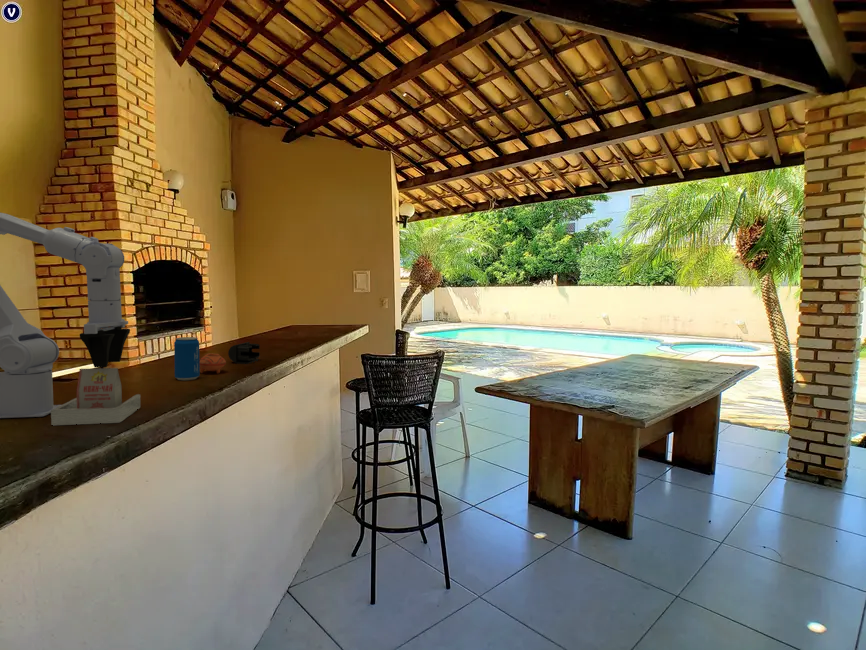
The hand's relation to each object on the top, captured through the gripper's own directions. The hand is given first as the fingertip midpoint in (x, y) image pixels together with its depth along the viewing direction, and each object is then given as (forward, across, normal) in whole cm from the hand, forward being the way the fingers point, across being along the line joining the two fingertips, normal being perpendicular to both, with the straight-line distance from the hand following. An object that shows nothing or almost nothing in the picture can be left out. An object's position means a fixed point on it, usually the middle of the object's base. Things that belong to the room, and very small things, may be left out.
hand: (107, 364), depth 99 cm
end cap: (+11, +66, -18) cm, 69 cm away
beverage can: (+11, +36, -6) cm, 38 cm away
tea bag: (+11, -2, +1) cm, 11 cm away
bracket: (+10, -2, +1) cm, 11 cm away
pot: (+11, +45, -11) cm, 48 cm away
